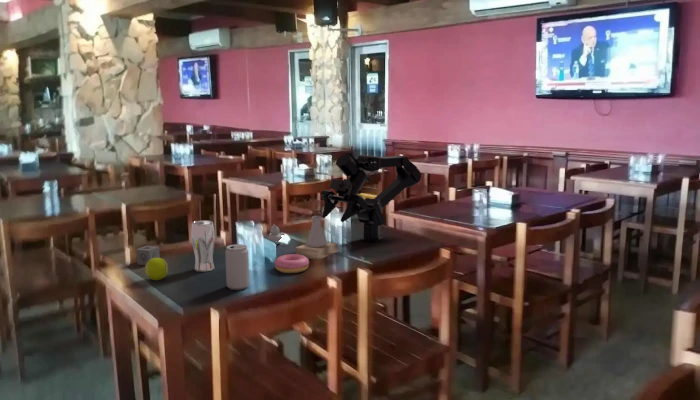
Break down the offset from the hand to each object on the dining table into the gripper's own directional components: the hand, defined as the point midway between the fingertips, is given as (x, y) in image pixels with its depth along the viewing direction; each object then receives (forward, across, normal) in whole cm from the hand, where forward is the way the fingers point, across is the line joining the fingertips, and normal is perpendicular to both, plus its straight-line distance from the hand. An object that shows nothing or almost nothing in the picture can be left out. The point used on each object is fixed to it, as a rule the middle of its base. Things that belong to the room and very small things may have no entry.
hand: (332, 219), depth 206 cm
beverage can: (+40, +9, -25) cm, 49 cm away
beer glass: (+38, -13, -23) cm, 47 cm away
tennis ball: (+49, -14, -34) cm, 62 cm away
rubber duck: (+14, -21, +2) cm, 25 cm away
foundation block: (+13, 0, +2) cm, 13 cm away
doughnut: (+25, +7, -10) cm, 28 cm away
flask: (+11, 0, 0) cm, 11 cm away
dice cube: (+44, -32, -30) cm, 62 cm away
